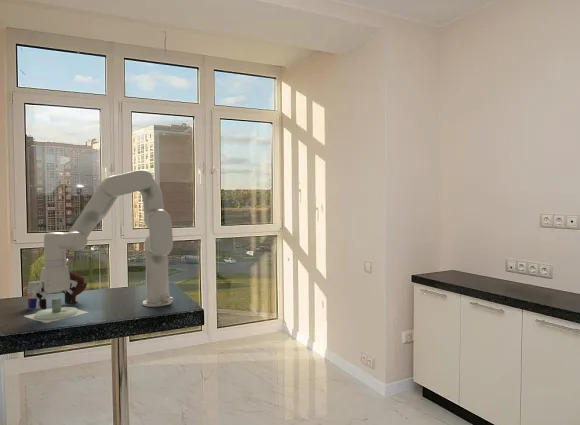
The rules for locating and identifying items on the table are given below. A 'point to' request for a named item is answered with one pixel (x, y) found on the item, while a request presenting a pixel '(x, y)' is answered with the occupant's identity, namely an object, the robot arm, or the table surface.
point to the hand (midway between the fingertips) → (55, 306)
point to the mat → (54, 319)
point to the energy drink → (33, 295)
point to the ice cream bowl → (79, 287)
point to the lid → (56, 311)
